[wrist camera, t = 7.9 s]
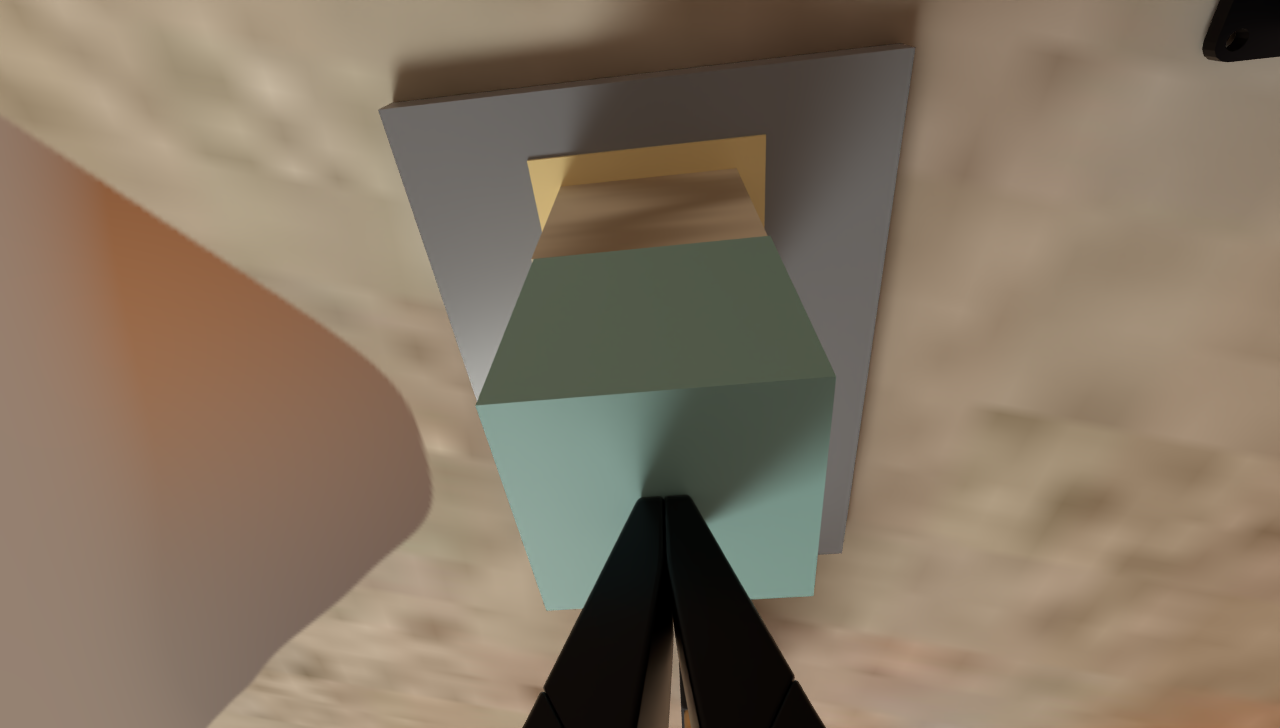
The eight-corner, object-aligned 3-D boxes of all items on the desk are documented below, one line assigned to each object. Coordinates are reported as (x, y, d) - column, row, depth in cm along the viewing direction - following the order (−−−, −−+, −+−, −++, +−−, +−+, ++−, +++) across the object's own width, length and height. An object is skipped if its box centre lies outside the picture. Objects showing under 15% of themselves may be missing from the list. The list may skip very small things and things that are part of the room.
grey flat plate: (900, 43, 15) (916, 47, 14) (835, 535, 26) (842, 555, 25) (391, 102, 16) (376, 110, 15) (538, 553, 27) (534, 573, 26)
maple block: (736, 168, 16) (767, 236, 12) (738, 322, 19) (764, 420, 15) (560, 186, 16) (531, 259, 12) (588, 335, 19) (571, 435, 15)
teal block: (770, 235, 12) (836, 376, 8) (766, 420, 15) (813, 596, 11) (533, 258, 12) (475, 405, 8) (574, 435, 15) (546, 610, 11)
